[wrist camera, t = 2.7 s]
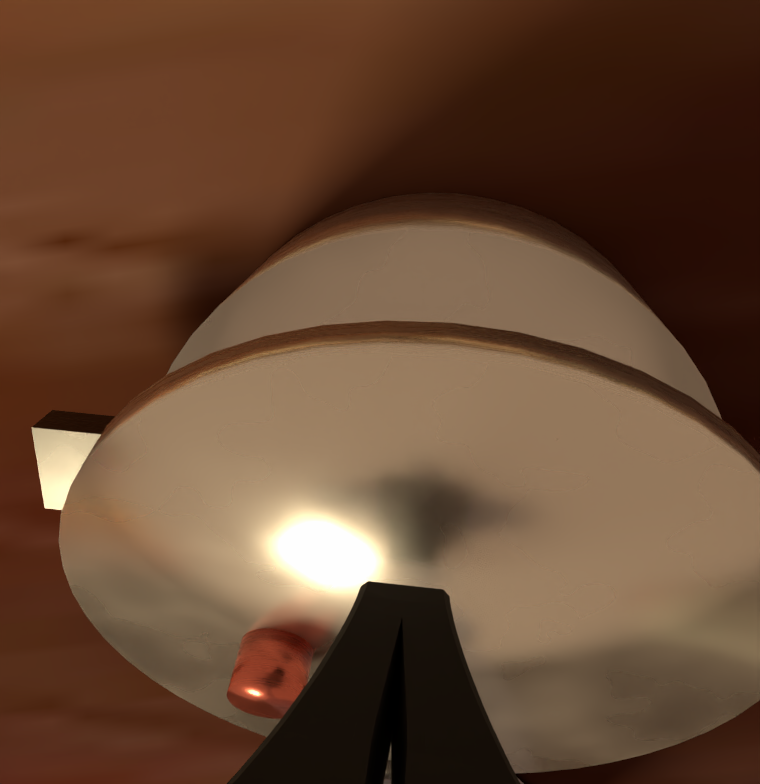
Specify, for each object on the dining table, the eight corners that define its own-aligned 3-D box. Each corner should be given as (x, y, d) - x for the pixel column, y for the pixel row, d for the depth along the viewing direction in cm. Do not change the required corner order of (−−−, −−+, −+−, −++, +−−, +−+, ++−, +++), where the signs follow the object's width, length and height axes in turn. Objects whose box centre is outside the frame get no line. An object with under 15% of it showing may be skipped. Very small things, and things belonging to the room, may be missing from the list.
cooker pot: (703, 658, 24) (760, 793, 20) (136, 592, 25) (66, 704, 21) (847, 222, 18) (979, 272, 13) (90, 164, 19) (-23, 191, 15)
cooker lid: (661, 778, 20) (674, 860, 18) (155, 713, 21) (130, 787, 19) (990, 369, 10) (1081, 482, 8) (-36, 279, 10) (-121, 365, 9)
